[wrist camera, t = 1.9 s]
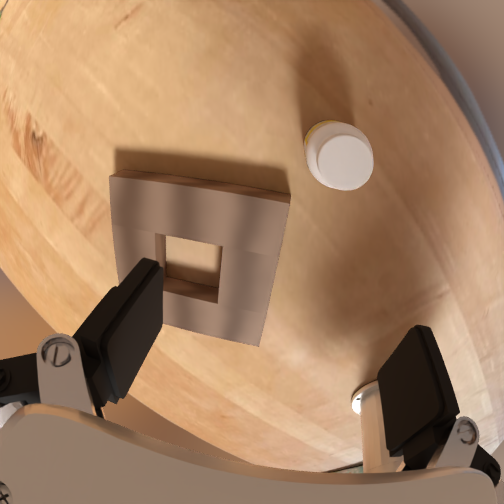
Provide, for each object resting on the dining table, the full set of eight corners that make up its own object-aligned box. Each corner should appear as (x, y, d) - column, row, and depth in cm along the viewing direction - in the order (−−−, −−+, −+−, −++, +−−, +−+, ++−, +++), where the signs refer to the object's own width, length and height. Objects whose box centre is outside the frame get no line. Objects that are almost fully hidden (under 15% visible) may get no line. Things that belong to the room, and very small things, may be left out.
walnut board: (290, 194, 30) (289, 203, 27) (261, 331, 40) (258, 346, 37) (123, 169, 31) (109, 176, 29) (133, 299, 41) (123, 311, 38)
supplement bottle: (352, 175, 28) (374, 206, 19) (301, 167, 28) (301, 195, 20) (360, 124, 25) (388, 133, 16) (306, 115, 26) (310, 118, 17)
